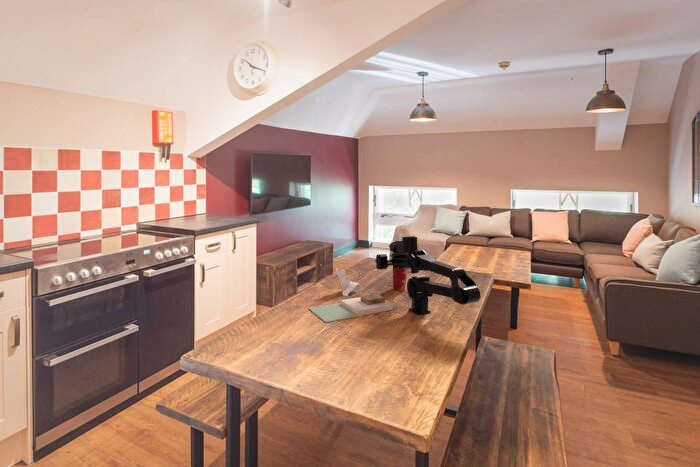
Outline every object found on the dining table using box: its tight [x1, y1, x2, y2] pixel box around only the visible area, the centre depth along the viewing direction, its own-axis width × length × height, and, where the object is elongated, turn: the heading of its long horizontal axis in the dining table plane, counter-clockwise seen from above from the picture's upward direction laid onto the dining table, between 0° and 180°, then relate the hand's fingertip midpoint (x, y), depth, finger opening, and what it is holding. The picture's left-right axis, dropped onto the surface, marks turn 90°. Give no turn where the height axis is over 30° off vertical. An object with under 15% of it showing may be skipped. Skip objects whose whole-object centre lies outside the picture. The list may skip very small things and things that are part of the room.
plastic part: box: [335, 267, 362, 297], centre depth 185 cm, size 8×10×12 cm
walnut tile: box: [360, 293, 386, 305], centre depth 168 cm, size 8×6×2 cm
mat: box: [308, 302, 360, 323], centre depth 160 cm, size 16×14×1 cm
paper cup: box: [392, 267, 408, 292], centre depth 192 cm, size 8×8×14 cm
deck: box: [340, 296, 393, 317], centre depth 167 cm, size 14×16×2 cm
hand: (384, 260), depth 182 cm, fingers open, 9 cm apart
